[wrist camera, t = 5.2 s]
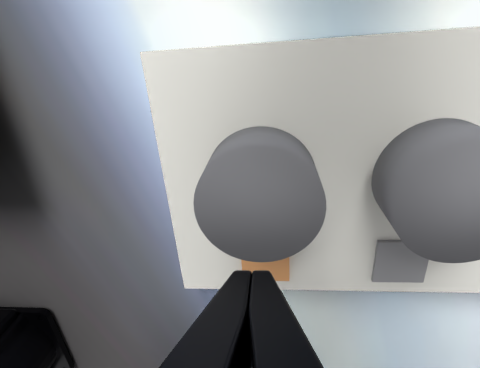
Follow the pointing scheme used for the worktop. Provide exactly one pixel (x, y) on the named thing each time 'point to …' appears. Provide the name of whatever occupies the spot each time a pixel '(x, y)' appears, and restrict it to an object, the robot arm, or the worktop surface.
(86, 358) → the worktop surface
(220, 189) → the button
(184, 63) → the button board
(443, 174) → the button middle
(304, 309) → the worktop surface
